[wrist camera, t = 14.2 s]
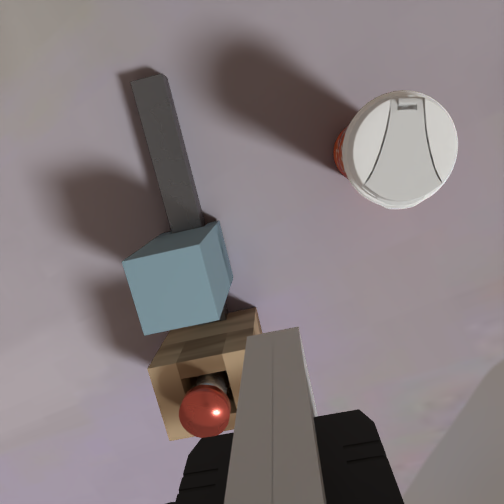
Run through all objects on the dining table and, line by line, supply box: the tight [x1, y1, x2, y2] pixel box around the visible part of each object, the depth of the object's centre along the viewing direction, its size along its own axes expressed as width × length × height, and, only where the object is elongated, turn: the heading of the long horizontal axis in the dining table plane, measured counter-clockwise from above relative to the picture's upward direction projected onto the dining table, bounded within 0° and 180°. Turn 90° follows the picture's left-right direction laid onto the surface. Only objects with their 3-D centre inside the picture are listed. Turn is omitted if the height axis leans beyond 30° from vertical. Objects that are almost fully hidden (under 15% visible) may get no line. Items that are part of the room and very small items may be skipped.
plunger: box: [179, 370, 231, 438], centre depth 38 cm, size 4×4×6 cm
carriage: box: [122, 221, 233, 335], centre depth 39 cm, size 6×6×12 cm
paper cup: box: [333, 91, 458, 209], centre depth 35 cm, size 8×8×14 cm
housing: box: [148, 307, 262, 441], centre depth 42 cm, size 7×9×10 cm
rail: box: [130, 74, 228, 326], centre depth 43 cm, size 24×3×2 cm, turn 13°
